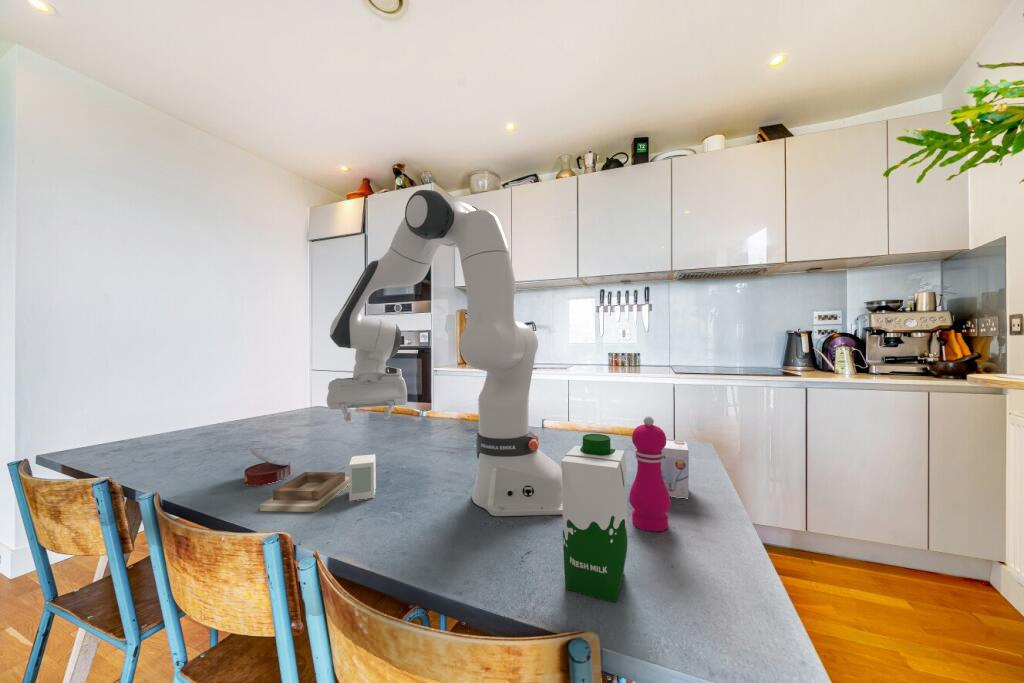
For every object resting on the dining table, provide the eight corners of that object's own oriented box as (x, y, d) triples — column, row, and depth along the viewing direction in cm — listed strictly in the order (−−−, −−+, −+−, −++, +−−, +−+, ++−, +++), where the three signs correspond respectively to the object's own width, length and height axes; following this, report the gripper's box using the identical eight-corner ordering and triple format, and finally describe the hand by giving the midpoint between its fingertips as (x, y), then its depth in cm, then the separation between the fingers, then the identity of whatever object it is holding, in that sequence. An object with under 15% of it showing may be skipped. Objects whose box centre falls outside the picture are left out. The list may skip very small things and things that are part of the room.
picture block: (375, 487, 87) (375, 454, 87) (373, 498, 81) (373, 462, 81) (353, 490, 86) (352, 456, 86) (349, 501, 80) (348, 464, 80)
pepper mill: (651, 537, 64) (650, 422, 64) (621, 520, 70) (620, 415, 70) (679, 527, 67) (678, 417, 67) (648, 511, 74) (647, 411, 73)
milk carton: (630, 569, 55) (629, 436, 55) (622, 610, 47) (621, 453, 47) (573, 556, 59) (571, 430, 59) (556, 592, 50) (554, 446, 50)
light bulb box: (637, 493, 82) (636, 445, 82) (638, 482, 89) (638, 437, 89) (690, 500, 78) (689, 449, 78) (688, 488, 85) (687, 441, 85)
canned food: (259, 492, 97) (267, 453, 102) (296, 488, 97) (303, 449, 101) (226, 487, 87) (237, 444, 92) (267, 482, 87) (276, 440, 91)
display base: (354, 481, 91) (354, 468, 91) (316, 511, 75) (316, 496, 75) (307, 481, 92) (307, 468, 92) (259, 511, 76) (259, 495, 76)
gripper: (327, 371, 99) (320, 414, 90) (406, 368, 105) (407, 409, 96) (331, 386, 104) (324, 428, 94) (406, 382, 110) (407, 422, 100)
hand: (367, 418), depth 95 cm, fingers open, 8 cm apart
